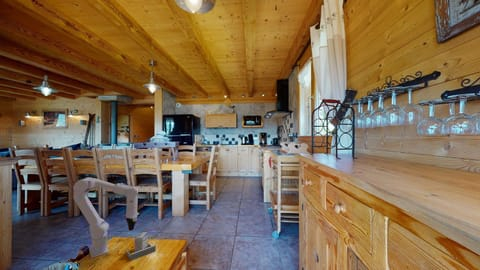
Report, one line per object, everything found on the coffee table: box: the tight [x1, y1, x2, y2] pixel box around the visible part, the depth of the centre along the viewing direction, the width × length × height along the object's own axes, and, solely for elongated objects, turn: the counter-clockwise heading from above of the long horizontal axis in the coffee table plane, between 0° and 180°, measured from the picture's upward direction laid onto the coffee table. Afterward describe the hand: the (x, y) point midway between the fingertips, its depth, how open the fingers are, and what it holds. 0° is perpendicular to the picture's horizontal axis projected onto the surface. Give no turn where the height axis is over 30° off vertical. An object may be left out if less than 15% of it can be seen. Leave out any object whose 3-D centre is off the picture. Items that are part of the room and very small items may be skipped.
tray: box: [125, 242, 157, 262], centre depth 106 cm, size 9×13×3 cm
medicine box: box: [134, 231, 149, 253], centre depth 109 cm, size 8×4×9 cm, turn 5°
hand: (131, 230), depth 112 cm, fingers closed
